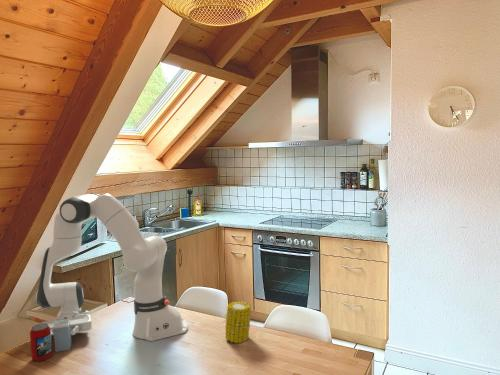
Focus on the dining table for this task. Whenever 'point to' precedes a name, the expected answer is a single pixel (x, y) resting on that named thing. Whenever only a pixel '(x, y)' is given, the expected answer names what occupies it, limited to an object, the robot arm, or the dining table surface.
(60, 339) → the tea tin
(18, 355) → the dining table surface
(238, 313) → the food
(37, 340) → the beverage can
